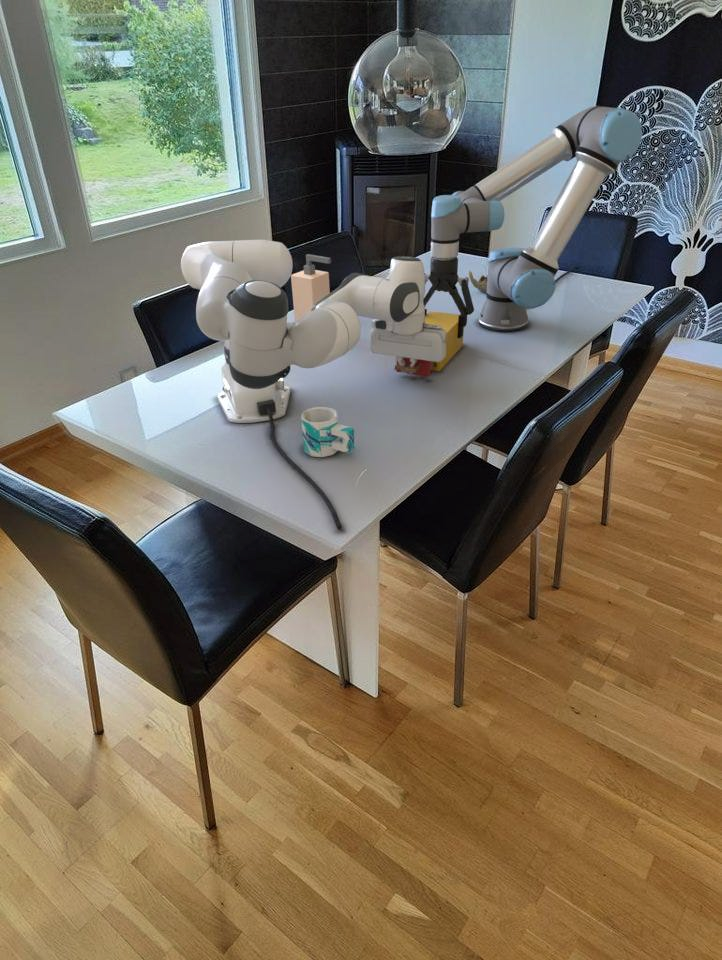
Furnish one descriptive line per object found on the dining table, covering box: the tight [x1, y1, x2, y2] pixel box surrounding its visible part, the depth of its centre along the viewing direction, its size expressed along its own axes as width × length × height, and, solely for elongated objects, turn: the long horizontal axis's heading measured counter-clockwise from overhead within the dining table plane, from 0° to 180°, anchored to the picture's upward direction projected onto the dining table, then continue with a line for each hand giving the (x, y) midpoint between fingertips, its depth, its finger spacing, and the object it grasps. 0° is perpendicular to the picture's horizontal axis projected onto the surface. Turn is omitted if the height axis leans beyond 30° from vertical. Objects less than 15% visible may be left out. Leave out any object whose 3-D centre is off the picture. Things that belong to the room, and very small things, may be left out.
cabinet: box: [425, 310, 465, 372], centre depth 190 cm, size 21×11×9 cm, turn 155°
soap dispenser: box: [290, 253, 332, 322], centre depth 211 cm, size 13×9×22 cm
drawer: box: [394, 357, 436, 378], centre depth 183 cm, size 25×9×7 cm, turn 155°
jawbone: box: [468, 270, 488, 293], centre depth 238 cm, size 9×15×10 cm
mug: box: [300, 406, 356, 458], centre depth 147 cm, size 8×12×8 cm
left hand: (407, 372), depth 176 cm, fingers closed, pressing on drawer
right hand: (441, 334), depth 195 cm, fingers closed on cabinet, 11 cm apart
